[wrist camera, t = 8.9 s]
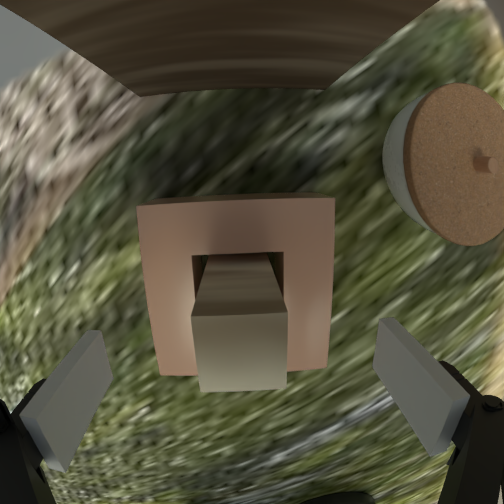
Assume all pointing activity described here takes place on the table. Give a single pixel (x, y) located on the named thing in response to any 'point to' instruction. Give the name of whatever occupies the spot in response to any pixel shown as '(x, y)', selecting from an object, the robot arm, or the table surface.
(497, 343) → the table surface
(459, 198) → the lidded jar
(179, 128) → the table surface
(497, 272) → the table surface
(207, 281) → the peg
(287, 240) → the socket block
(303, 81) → the capped wooden panel
